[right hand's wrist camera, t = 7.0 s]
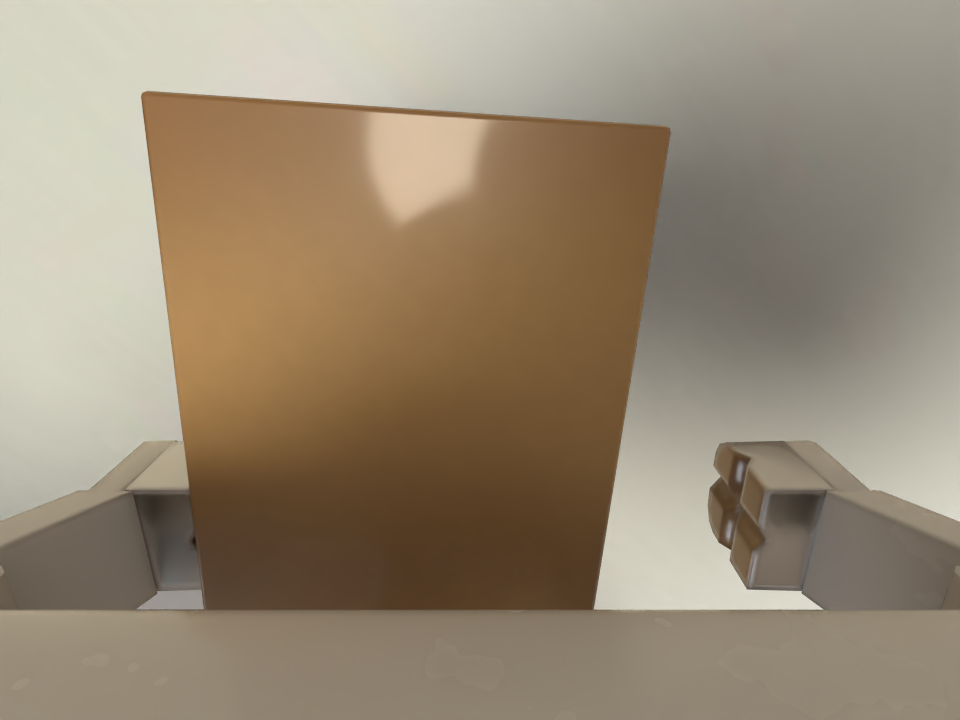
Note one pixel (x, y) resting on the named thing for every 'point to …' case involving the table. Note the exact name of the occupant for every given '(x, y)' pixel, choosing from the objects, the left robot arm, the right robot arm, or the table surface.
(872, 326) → the table surface
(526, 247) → the bar
